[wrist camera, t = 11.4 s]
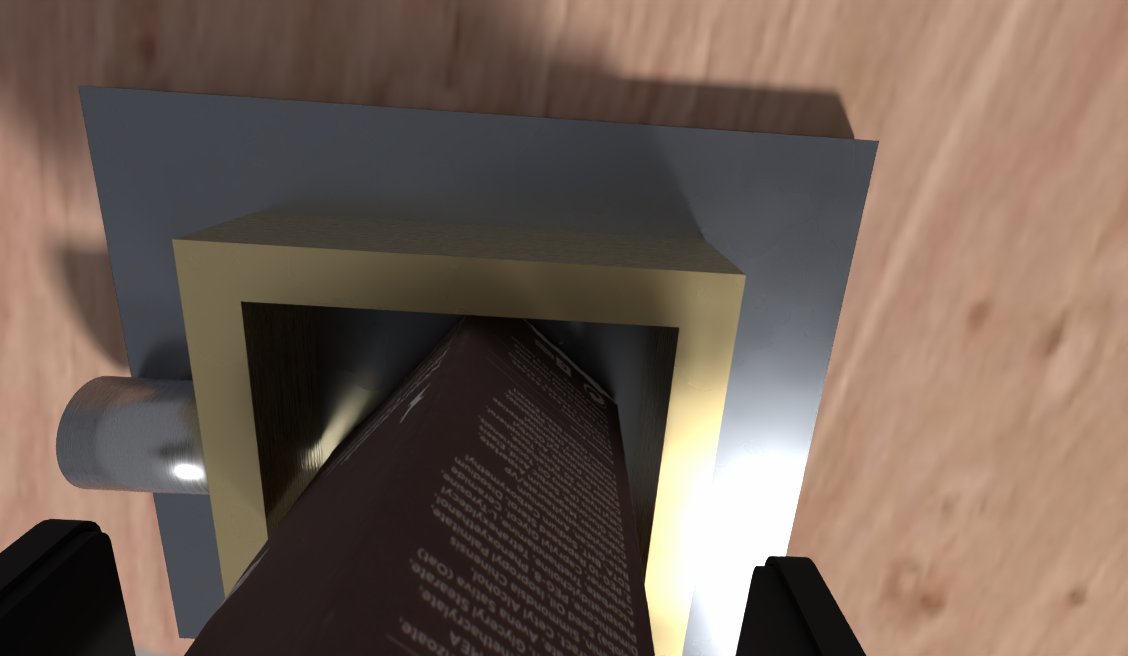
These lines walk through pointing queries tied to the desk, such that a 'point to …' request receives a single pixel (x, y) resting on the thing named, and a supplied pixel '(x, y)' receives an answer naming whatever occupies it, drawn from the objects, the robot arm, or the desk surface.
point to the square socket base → (461, 312)
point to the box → (457, 521)
